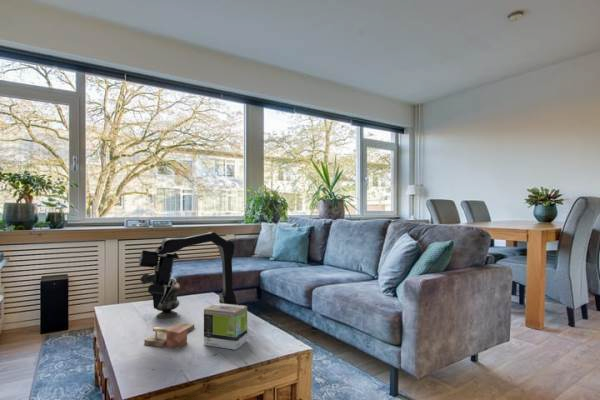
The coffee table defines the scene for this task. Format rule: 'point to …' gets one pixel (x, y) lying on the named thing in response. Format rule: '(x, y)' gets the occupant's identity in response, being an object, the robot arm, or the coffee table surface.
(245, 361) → the coffee table surface
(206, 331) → the tea box
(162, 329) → the terracotta strapped cube
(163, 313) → the apothecary jar
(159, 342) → the board
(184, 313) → the coffee table surface
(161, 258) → the robot arm
